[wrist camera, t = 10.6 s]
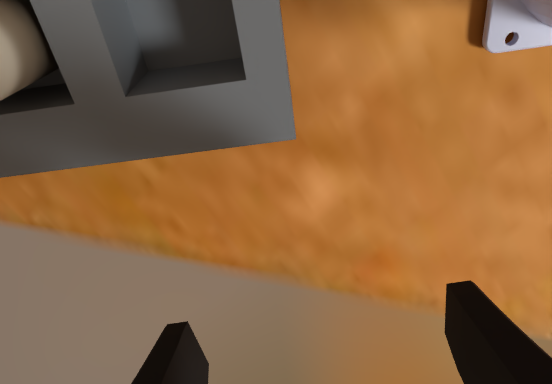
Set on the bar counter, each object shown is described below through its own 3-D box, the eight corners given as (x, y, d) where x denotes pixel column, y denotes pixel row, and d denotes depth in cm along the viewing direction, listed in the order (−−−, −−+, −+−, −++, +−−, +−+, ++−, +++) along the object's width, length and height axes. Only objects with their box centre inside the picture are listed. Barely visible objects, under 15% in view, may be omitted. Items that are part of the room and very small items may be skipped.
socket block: (259, -164, 13) (254, -196, 10) (291, 99, 18) (296, 139, 15) (-109, -96, 14) (-230, -104, 11) (17, 137, 19) (-38, 182, 15)
